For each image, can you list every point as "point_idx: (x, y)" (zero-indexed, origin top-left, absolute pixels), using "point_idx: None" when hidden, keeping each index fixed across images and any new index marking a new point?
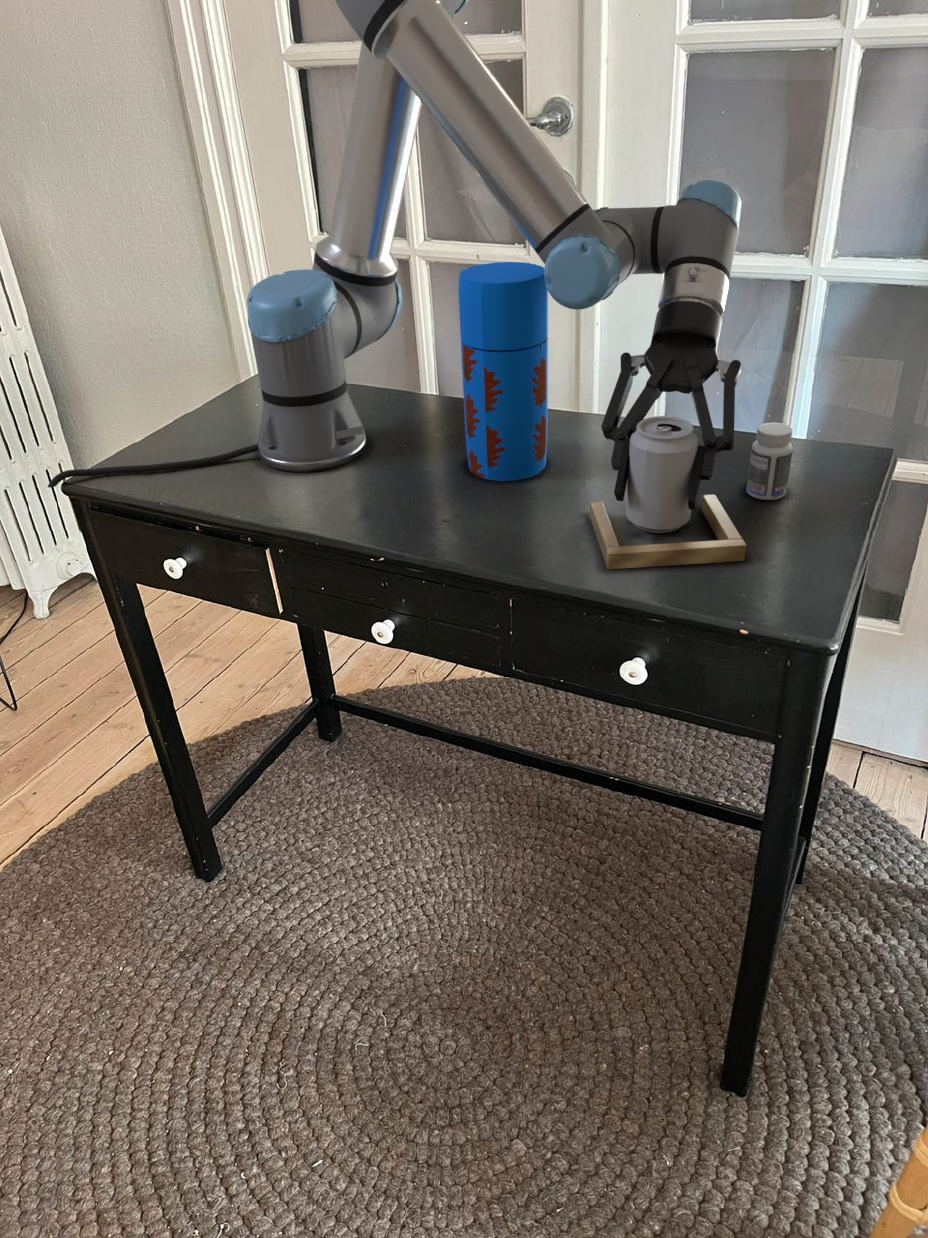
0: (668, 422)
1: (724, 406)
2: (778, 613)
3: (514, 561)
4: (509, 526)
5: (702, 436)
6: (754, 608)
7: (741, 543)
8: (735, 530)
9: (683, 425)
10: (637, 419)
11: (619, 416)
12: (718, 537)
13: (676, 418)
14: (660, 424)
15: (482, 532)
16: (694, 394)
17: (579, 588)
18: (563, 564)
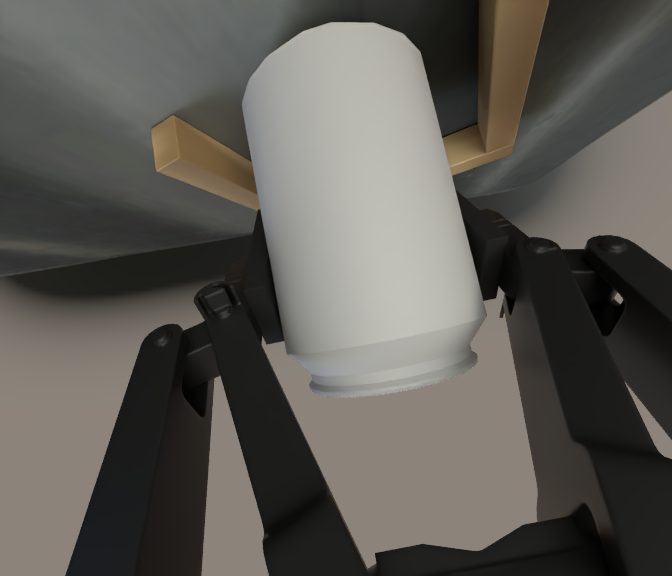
0: (398, 369)
1: (651, 406)
2: (497, 180)
3: (179, 233)
4: (59, 207)
5: (522, 290)
6: (473, 184)
7: (504, 155)
8: (513, 129)
9: (450, 356)
10: (283, 391)
11: (181, 405)
12: (479, 93)
13: (430, 380)
14: (363, 356)
15: (52, 227)
16: (542, 483)
17: None
18: (238, 217)
